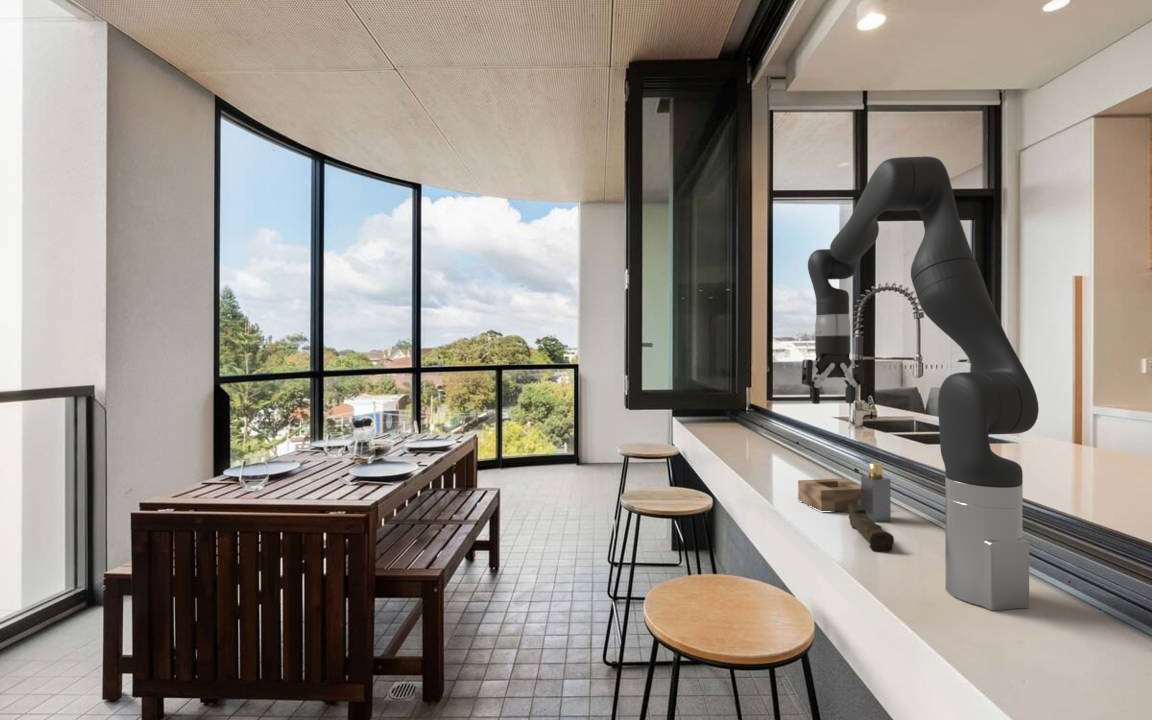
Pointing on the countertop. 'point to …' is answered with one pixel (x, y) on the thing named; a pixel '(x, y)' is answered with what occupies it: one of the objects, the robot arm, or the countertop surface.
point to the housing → (829, 494)
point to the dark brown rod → (870, 529)
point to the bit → (876, 494)
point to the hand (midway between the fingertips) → (832, 403)
